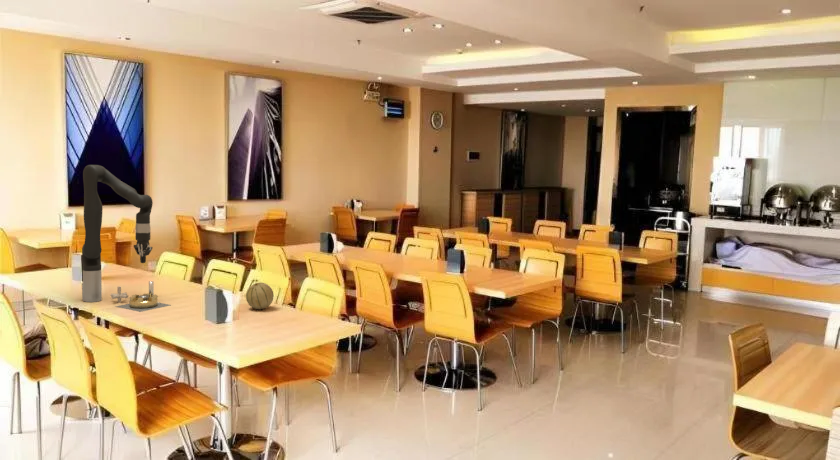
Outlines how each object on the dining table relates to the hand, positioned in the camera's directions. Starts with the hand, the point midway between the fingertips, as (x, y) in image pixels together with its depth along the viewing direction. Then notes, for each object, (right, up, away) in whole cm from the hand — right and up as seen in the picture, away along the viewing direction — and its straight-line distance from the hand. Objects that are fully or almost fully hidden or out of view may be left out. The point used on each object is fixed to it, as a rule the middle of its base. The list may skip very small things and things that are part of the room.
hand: (143, 262), depth 357 cm
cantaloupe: (+63, -26, +2) cm, 68 cm away
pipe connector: (-12, -23, -2) cm, 26 cm away
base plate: (+4, -24, -8) cm, 26 cm away
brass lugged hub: (+4, -23, -8) cm, 24 cm away
